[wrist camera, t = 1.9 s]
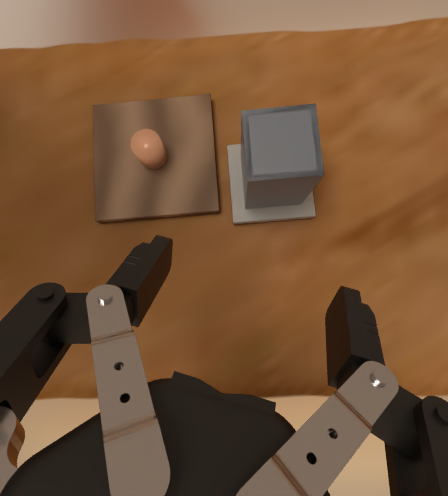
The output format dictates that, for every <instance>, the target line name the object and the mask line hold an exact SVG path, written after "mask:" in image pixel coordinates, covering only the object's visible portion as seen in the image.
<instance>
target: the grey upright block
mask: <svg viewBox="0 0 448 496" xmlns="http://www.w3.org/2000/svg"><path fill="white" fill-rule="evenodd" d="M240 156H241V168H242V179H243V191H244V203H245V209H252V208H264V207H276V206H288V205H300V204H302V203H303V201H304V200H305V199H306V198H307V196H308V195H309V194H310V193H311V191H312V190H313V189H314V187H315V186H316V185H317V184H318V182H319V181H320V180H321V178H322V177H323V176H324V169H323V161H322V152H321V144H320V136H319V127H318V119H317V111H316V104H306V105H296V106H286V107H275V108H265V109H254V110H244V111H241V155H240Z"/></svg>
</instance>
